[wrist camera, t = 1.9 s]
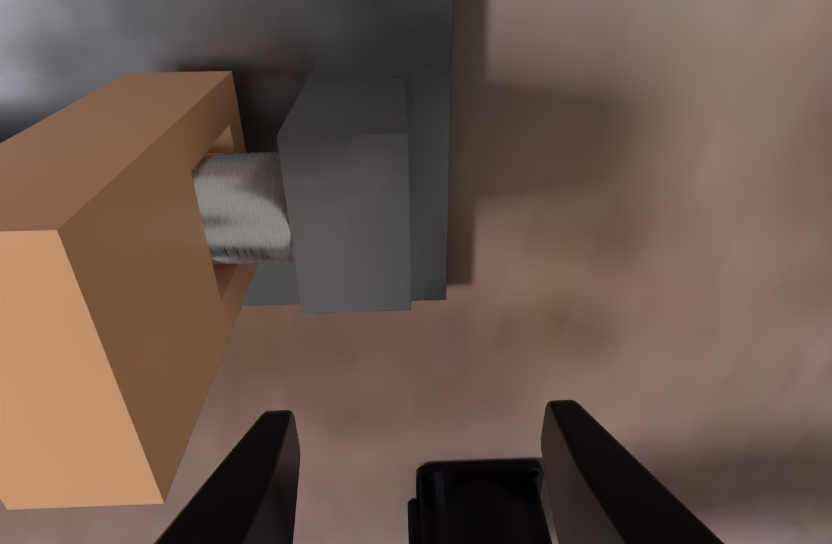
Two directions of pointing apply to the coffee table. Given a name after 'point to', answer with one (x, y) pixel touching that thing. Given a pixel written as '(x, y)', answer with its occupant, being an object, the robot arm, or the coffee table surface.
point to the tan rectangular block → (111, 290)
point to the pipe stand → (280, 129)
